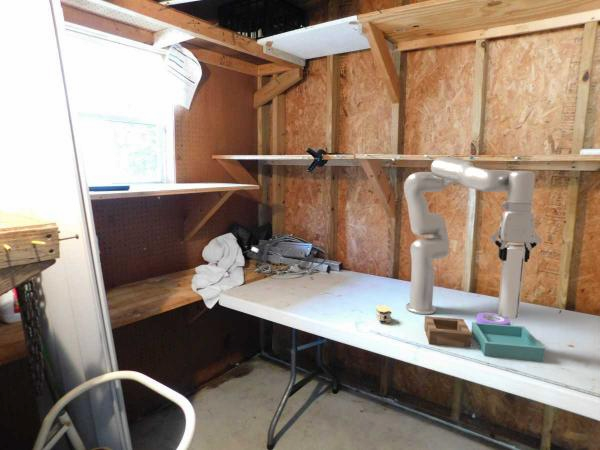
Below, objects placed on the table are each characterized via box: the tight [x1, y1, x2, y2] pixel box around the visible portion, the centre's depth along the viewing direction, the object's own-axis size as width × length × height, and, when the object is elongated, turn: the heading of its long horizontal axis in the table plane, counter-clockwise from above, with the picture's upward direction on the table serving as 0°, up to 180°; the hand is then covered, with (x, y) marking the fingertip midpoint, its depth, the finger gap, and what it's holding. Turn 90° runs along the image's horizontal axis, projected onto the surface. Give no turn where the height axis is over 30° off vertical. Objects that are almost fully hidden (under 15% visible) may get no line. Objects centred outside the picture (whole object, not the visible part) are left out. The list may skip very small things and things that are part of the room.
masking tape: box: [476, 312, 511, 325], centre depth 155 cm, size 12×12×4 cm
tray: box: [470, 321, 546, 362], centre depth 137 cm, size 18×18×4 cm
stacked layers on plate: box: [375, 304, 393, 324], centre depth 159 cm, size 10×9×6 cm
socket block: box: [423, 315, 473, 349], centre depth 144 cm, size 14×14×5 cm
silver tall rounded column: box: [497, 243, 526, 320], centre depth 134 cm, size 6×6×25 cm
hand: (513, 260), depth 133 cm, fingers closed on silver tall rounded column, 6 cm apart
